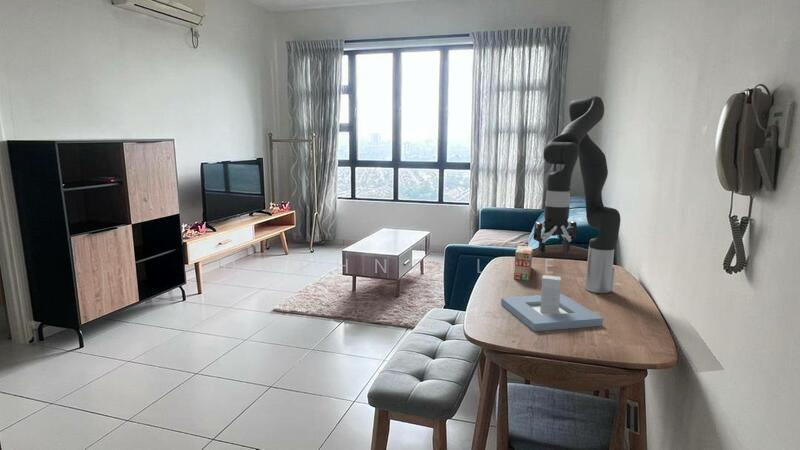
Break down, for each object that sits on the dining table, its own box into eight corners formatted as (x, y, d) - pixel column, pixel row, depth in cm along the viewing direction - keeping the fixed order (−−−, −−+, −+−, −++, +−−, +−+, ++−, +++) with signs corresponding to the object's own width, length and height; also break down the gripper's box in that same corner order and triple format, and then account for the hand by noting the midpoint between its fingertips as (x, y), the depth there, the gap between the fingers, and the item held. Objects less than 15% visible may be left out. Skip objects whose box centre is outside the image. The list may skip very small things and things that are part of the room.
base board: (561, 300, 171) (561, 293, 170) (602, 325, 148) (603, 318, 147) (500, 304, 166) (501, 297, 165) (534, 331, 143) (534, 323, 142)
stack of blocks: (517, 266, 216) (519, 241, 213) (531, 268, 214) (533, 242, 211) (513, 279, 196) (515, 251, 193) (528, 281, 194) (530, 252, 191)
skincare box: (558, 310, 158) (561, 276, 155) (558, 314, 154) (561, 280, 151) (540, 308, 160) (542, 274, 157) (539, 312, 156) (542, 278, 153)
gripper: (570, 202, 155) (566, 249, 158) (531, 203, 152) (528, 251, 155) (583, 205, 148) (579, 254, 151) (543, 206, 145) (540, 256, 148)
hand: (553, 252), depth 153 cm, fingers open, 8 cm apart
